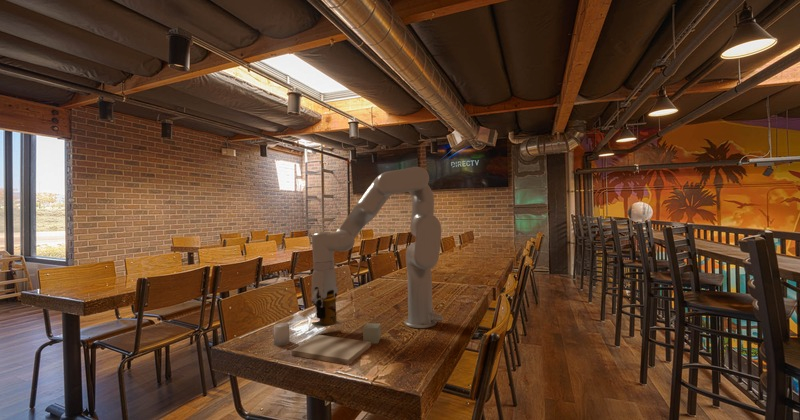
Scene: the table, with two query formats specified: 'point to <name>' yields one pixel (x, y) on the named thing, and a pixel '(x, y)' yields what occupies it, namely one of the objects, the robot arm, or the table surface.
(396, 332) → the table surface
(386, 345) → the table surface
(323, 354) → the maple board
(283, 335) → the pale stubby cylinder
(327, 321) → the condiment
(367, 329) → the sage block
